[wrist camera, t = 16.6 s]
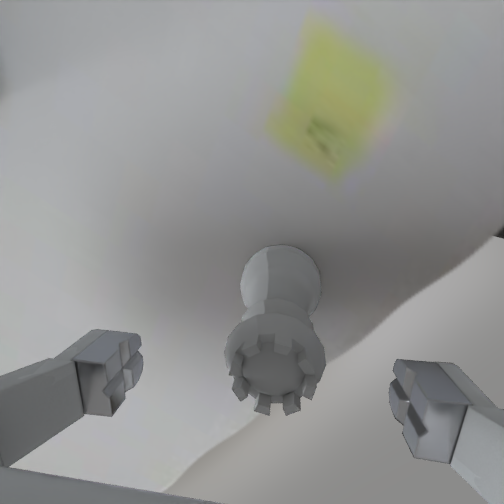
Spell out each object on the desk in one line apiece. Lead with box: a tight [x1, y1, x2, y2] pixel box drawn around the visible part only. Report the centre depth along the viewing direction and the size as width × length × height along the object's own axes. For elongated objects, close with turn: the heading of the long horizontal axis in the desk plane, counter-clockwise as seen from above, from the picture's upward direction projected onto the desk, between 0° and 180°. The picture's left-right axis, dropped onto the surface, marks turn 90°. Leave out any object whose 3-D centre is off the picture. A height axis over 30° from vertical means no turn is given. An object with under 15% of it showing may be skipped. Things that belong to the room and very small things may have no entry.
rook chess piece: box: [224, 245, 326, 415], centre depth 11 cm, size 4×4×8 cm
